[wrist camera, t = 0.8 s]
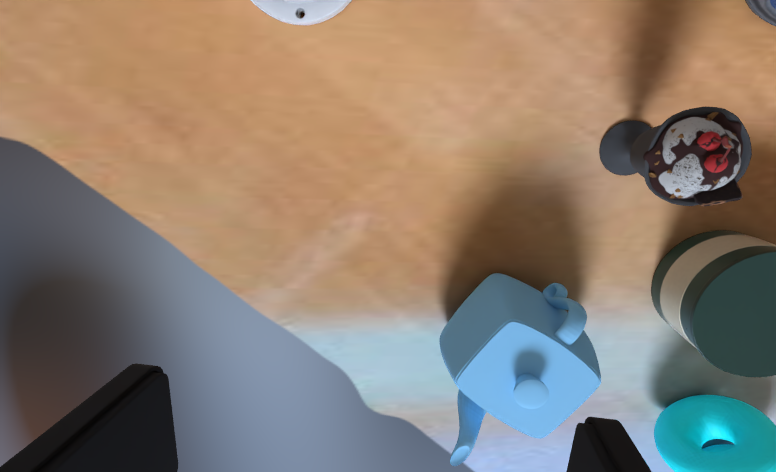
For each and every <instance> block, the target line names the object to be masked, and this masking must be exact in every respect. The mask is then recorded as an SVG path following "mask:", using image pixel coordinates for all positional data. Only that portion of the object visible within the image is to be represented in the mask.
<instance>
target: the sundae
mask: <svg viewBox="0 0 776 472" xmlns="http://www.w3.org/2000/svg"><path fill="white" fill-rule="evenodd" d="M751 155H752V153H751V142H750V137H749V135H748V133H747V131H746V129H745V127H744V125H743V124H742V122H741V121H740V119H739V118H738V117H737V116H736V115H734V114H733V113H731V112H729V111H728V110H726V109H722V108H717V107H699V108H693V109H689V110H685V111H682V112H680V113H677V114H675V115H673V116H671V117H670V118H668V119H667V120H666V121H665V122H664V123H663V124H662V125H660V126H657V127H654V128H651V127H649V126H648V125H647V124H645V123H643V122H640V121H631V120H630V121H625V122H622V123H619V124H617V125H616V126H614V127H613V128H611V129H610V130H609V131H608V132H607V134H606V135H605V136H604V138H603V140H602V142H601V146H600V158H601V161H602V163H603V165H604V166H605V168H606V169H607V170H609V171H610V172H612V173H614V174H617V175H631V174H634V173H637V172H638V173H639V174H640V175H642V176H643V177H644V178H645V181H646V184H647V186H648V187H649V189H650V190H651V191H652V192H653V193H654V194H655V195H657V196H658V197H660V198H662V199H663V200H666V201H668V202H670V203H672V204H677V205H684V206H694V205H701V206H710V205H717V204H722V203H726V202H729V201H736V200H740V199H741V198H742V197H743V196H742V193H741V191H740V188H739V186H738V184H737V182H738V181H739V179H740V178H741V177H742V176H743V175H744V174H745V172H746V169H747V167H748V165H749V162H750V159H751Z"/></svg>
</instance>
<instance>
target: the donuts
mask: <svg viewBox="0 0 776 472" xmlns="http://www.w3.org/2000/svg"><path fill="white" fill-rule="evenodd" d="M654 438H655V443H656V446H657V449H658V451H659V453H660V455H661V456H662V458H663V459H664V461H665V462H666V463H667V464H668V465H669V466H670V467H671V468H672V469H673V470H674V471H675V472H776V425H775V424H774V423H773V422H772V421H771V420H770V419H769V418H768V417H767V416H766V415H765V414H763V413H762V412H761V411H759V410H758V409H756V408H754V407H753V406H751V405H749V404H747V403H745V402H742V401H740V400H737V399H734V398H730V397H725V396H719V395H696V396H691V397H687V398H684V399H681V400H679V401H676V402H674V403H673V404H671V405H669V406H668V407H667V408H666V409H665V410H664V411H663V412H662V413H661V414H660V416H659V417H658V419H657V421H656V424H655V429H654ZM713 439H723V440H727V441H730V442H732V443H734V444H718V445H712V446H708V447H705V448H702V446H703V444H704V443H706V442H707V441H709V440H713Z"/></svg>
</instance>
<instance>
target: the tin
mask: <svg viewBox="0 0 776 472" xmlns="http://www.w3.org/2000/svg"><path fill="white" fill-rule="evenodd" d="M651 293H652V300H653V303H654V306H655V308H656V310H657V312H658V313H659V315H660V316H661V317H662V318H663V319H664V320H665V321H666V322H667V323H668V324H669V325H670V326H671V327H672V328H673V329H674V330H675V331H677V332H678V333H679V334H680V335H681V336H682V337H684V338H685V339H686V340H687V341H688V342H689V343H690V344H692V345H693V346H694V347H695V348H697V349H698V351H699V352H700V353H701V355H702V356H703V357H705V358H706V359H707V360H708V361H709V362H710V363H712V364H713V365H714V366H716V367H718V368H719V369H721V370H723V371H726V372H729V373H731V374H735V375H740V376H746V377H767V376H774V375H776V245H775V244H772V243H770V242H767V241H764V240H761V239H758V238H756V237H751V236H748V235H745V234H742V233H739V232H734V231H726V230H722V231H711V232H706V233H702V234H698V235H696V236H693V237H691V238H689V239H687V240H685V241H683V242H681V243H680V244H678V245H677V246H676V247H674V248H673V249H672V250H671V251H670V252H669V253H668V254H667V255H666V256H665V257H664V258H663V260H662V261H661V262H660V264H659V266H658V267H657V269H656V272H655V274H654V277H653V280H652V287H651Z"/></svg>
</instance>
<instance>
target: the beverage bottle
mask: <svg viewBox="0 0 776 472" xmlns="http://www.w3.org/2000/svg"><path fill="white" fill-rule="evenodd" d="M745 1H746V3H747V4H748V6H749V8H750V9H751V10H752V11H753V12H754V13H755V14H756V15H758V16H759V17H760V18H761V19H763V20H765V21H766V22H768V23H770V24H771V25H774V26H776V0H745Z"/></svg>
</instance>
